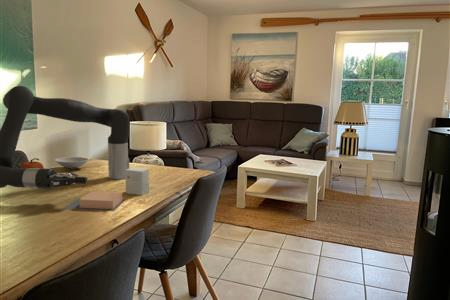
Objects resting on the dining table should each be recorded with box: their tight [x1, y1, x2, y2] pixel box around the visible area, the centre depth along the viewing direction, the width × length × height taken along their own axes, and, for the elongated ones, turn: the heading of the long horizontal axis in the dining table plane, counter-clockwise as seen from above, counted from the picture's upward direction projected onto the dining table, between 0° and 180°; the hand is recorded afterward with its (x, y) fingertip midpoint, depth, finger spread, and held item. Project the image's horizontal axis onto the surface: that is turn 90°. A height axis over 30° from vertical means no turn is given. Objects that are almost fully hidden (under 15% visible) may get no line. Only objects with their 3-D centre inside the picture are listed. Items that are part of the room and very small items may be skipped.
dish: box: [54, 156, 90, 170], centre depth 187 cm, size 18×14×5 cm
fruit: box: [20, 157, 44, 169], centre depth 163 cm, size 10×10×10 cm
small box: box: [125, 167, 150, 196], centre depth 144 cm, size 8×6×10 cm
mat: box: [61, 197, 126, 212], centre depth 128 cm, size 18×13×1 cm
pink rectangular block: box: [79, 191, 123, 209], centre depth 128 cm, size 3×10×12 cm
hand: (86, 180), depth 127 cm, fingers closed
